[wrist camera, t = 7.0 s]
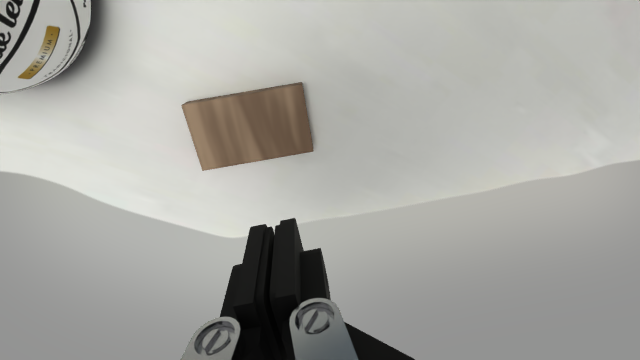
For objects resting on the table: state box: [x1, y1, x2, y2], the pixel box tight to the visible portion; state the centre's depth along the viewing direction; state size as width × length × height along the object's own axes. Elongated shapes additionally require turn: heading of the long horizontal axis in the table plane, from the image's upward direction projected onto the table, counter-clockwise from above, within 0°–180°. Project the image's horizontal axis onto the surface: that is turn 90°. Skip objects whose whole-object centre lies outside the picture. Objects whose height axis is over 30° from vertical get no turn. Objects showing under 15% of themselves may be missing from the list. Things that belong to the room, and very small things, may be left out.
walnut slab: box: [182, 82, 313, 171], centre depth 35 cm, size 2×7×12 cm
